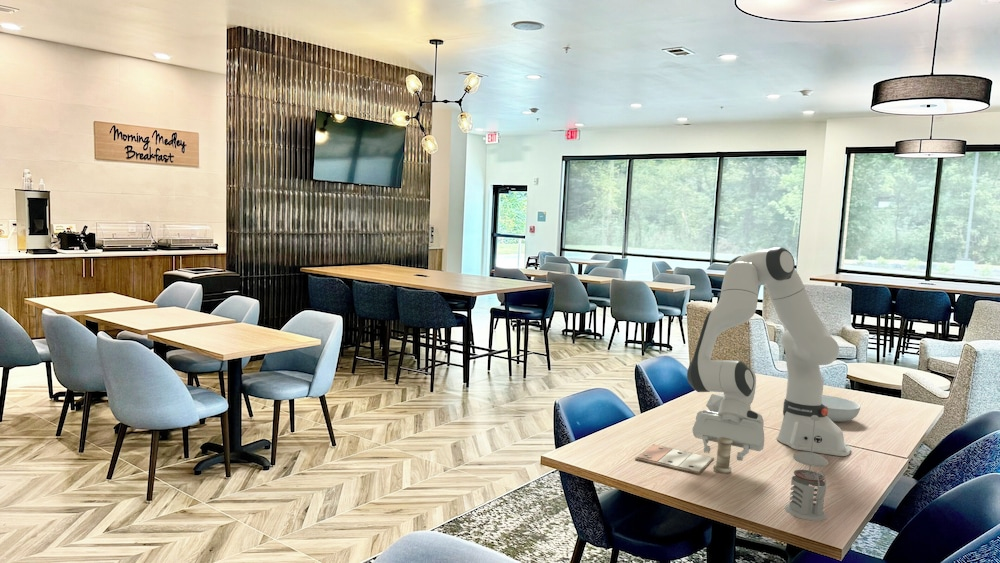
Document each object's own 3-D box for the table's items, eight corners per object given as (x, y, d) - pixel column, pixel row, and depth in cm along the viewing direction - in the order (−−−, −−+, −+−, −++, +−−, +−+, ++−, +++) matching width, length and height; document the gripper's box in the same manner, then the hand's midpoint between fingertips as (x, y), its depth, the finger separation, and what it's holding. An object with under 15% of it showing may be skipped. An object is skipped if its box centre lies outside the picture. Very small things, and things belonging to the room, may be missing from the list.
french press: (815, 505, 178) (824, 410, 176) (838, 524, 166) (849, 424, 164) (777, 503, 178) (786, 408, 176) (798, 523, 166) (808, 422, 164)
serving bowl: (789, 415, 267) (791, 398, 267) (813, 408, 281) (815, 392, 280) (845, 430, 252) (847, 411, 251) (867, 421, 266) (869, 404, 265)
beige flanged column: (732, 470, 201) (735, 439, 200) (729, 474, 197) (731, 443, 196) (715, 466, 204) (718, 435, 203) (711, 470, 199) (714, 439, 199)
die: (729, 421, 257) (738, 398, 260) (709, 408, 256) (720, 386, 260) (718, 422, 264) (727, 401, 268) (699, 410, 264) (709, 389, 267)
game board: (713, 459, 210) (714, 456, 210) (699, 474, 195) (699, 472, 195) (653, 445, 219) (653, 443, 219) (635, 459, 205) (635, 457, 205)
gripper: (697, 403, 210) (685, 442, 203) (767, 416, 200) (758, 458, 192) (699, 414, 214) (688, 453, 207) (768, 428, 204) (759, 469, 196)
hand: (722, 455), depth 199 cm, fingers open, 8 cm apart
